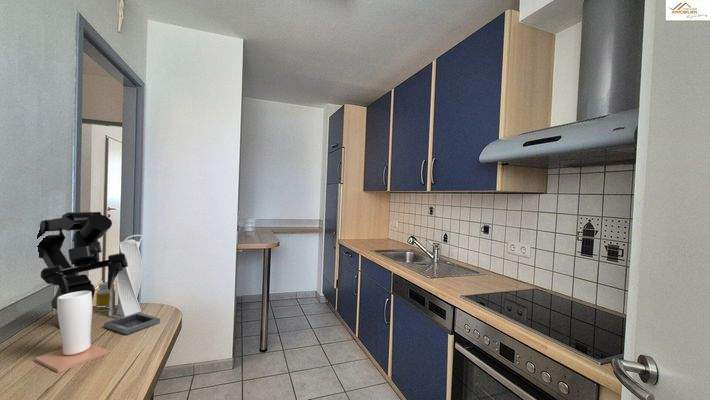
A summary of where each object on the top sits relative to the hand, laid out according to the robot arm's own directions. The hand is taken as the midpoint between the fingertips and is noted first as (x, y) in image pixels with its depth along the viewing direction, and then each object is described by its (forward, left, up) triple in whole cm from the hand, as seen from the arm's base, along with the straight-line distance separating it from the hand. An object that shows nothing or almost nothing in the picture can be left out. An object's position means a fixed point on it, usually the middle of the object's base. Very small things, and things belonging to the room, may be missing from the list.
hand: (89, 294), depth 86 cm
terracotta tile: (+7, -6, -13) cm, 17 cm away
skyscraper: (-12, +17, -14) cm, 24 cm away
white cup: (+7, -5, -13) cm, 15 cm away
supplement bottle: (-24, +16, -14) cm, 31 cm away
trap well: (0, +12, -13) cm, 18 cm away
